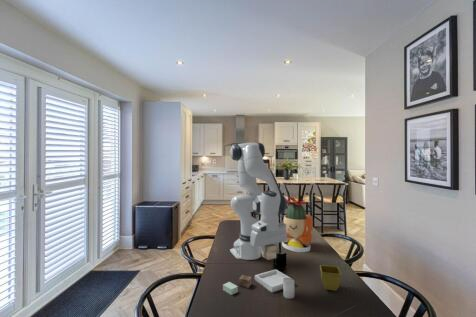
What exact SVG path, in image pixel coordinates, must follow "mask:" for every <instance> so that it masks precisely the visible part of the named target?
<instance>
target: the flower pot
mask: <svg viewBox="0 0 476 317" xmlns="http://www.w3.org/2000/svg"><path fill="white" fill-rule="evenodd" d="M319 269H320V270H319V271H320V278H321V282H322V286H323V288H324V290H327V291H328V290H329V291H334V292H335V291H338V290H339V287H340V285H341V280H342V272H341V270H340V267H339V266H334V265H325V264H324V265H323V264H320V265H319Z"/></svg>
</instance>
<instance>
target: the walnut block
mask: <svg viewBox="0 0 476 317" xmlns="http://www.w3.org/2000/svg"><path fill="white" fill-rule="evenodd" d="M251 285H252V276H250V275H244V274H242V275H241V276H240V277H239V278H238V287H243V288H247V289H249V288H250V286H251Z"/></svg>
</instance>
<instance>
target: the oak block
mask: <svg viewBox="0 0 476 317" xmlns="http://www.w3.org/2000/svg"><path fill="white" fill-rule="evenodd" d="M264 250H266V254H264V255H263V254H261V257H262V258H264V259H266V260H267V261H270V260H273V259H277V249H276V245H274V244H270V245H265V246H264Z"/></svg>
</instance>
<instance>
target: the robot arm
mask: <svg viewBox="0 0 476 317" xmlns="http://www.w3.org/2000/svg"><path fill="white" fill-rule="evenodd" d="M229 150H230V151H229V154H230V157H231V159H232V160H233V161H237V163H238V164H237V175H238V184H239V186H240V188H242V189H243V190H245V191H246V194H239V195H235V196H233V197H232V198H231V200H230V208H231V210H232V211H233V212H234V213H235V214H236V215H237V217H238V218H239V221H240V232H239V233H238V236H239V237H238V239H236V240H235V241H234V243H233V247H231V248H230V249H229V251H230V253H231V254H232V255H233V256H234V258H236V259H237V260H246V261H249V260H250V261H252V260H258V259H259V258H261V257H262V254H263V255H264V254H266V250H264V246H265V245H270V244H274V245H276V250H277V249H278V247H279V243H282V242H284V241H286V240H287V239H288V237H287V232H286V225H285V223H283V222H279V214H280V215H282V214H283V213H284V212H286V211H287V209H288V208H287V206H288V202H287V201H288V200H287V199H286V197H285V196H284V194H283V192H282V190H281V189H280V185H279V184H278V181H277V179H276V176H275V175H274V173H273V170H272V169H270V168H269V166H267V164H265V162H264V156H265V154H266V148H265V145H264V144H263V143H261V142H244V143H235V144H232V145H231V147H230V149H229ZM257 179H258V180H261V181H263V182H264V183H266V184H267V185H268V188H269V190H265V191H261V190H260V188H259V185H258V182H257ZM253 212H254V213H255V214H258V215H260V220H258V219H256V218H255V217H254V216H252V213H253Z"/></svg>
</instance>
